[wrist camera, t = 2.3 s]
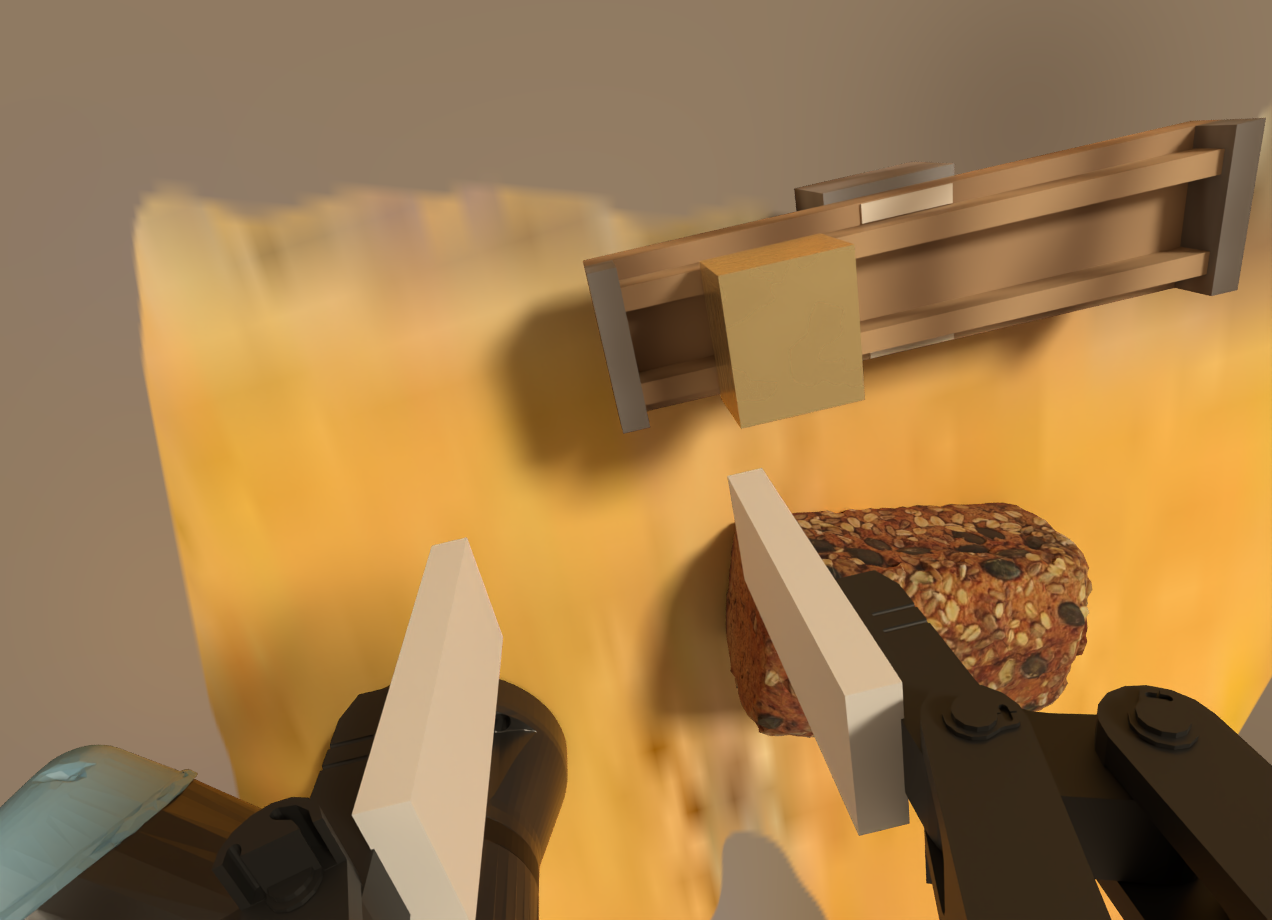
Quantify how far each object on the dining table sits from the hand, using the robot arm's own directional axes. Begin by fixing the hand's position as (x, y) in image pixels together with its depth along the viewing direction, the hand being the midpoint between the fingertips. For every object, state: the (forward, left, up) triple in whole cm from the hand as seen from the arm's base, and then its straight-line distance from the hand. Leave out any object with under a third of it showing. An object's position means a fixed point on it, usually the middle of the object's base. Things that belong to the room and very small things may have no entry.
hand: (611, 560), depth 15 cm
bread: (+14, -20, -23) cm, 34 cm away
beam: (+15, 0, -23) cm, 27 cm away
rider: (+8, 0, -17) cm, 19 cm away
